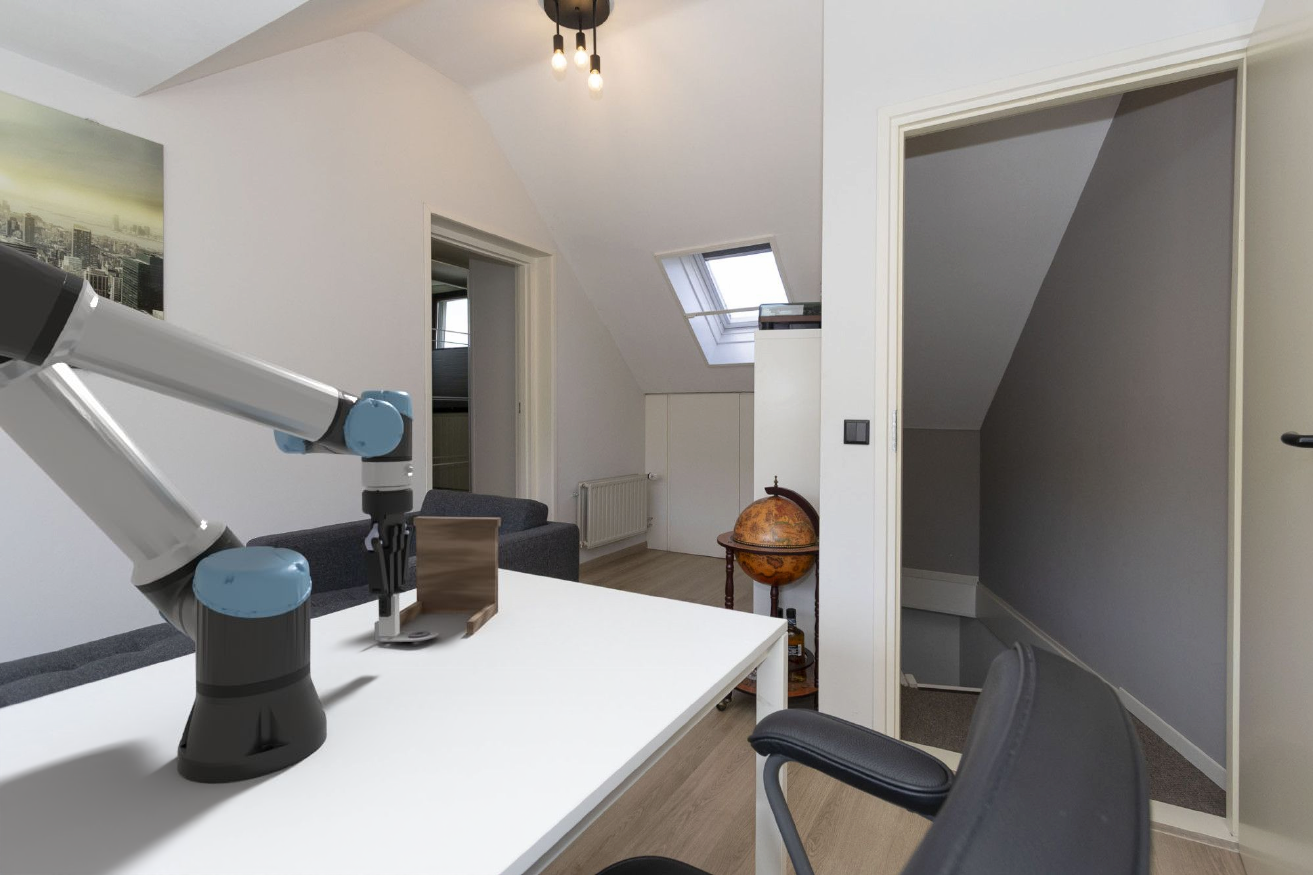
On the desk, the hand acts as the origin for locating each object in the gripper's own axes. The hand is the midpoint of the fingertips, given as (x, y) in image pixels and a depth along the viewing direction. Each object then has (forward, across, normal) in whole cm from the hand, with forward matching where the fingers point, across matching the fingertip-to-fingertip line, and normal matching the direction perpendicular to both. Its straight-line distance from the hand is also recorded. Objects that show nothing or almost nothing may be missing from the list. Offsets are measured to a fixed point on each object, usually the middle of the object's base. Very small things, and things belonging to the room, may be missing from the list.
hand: (389, 634), depth 104 cm
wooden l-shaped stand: (+5, +21, 0) cm, 22 cm away
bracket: (+6, +9, 0) cm, 11 cm away
